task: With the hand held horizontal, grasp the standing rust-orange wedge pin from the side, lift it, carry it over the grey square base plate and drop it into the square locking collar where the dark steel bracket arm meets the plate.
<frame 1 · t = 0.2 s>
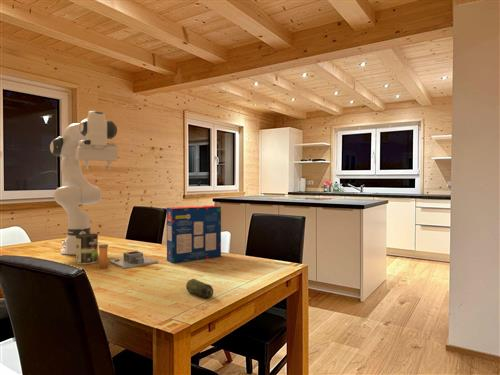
hand: (98, 169, 179), 48 cm above the table, tool pointing down, fingers open, 8 cm apart
grey square base plate: (133, 262, 177), on the table
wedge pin: (103, 267, 167), on the table
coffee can: (87, 262, 178), on the table
blue board game box: (194, 259, 186), on the table
vegetable: (199, 295, 127), on the table
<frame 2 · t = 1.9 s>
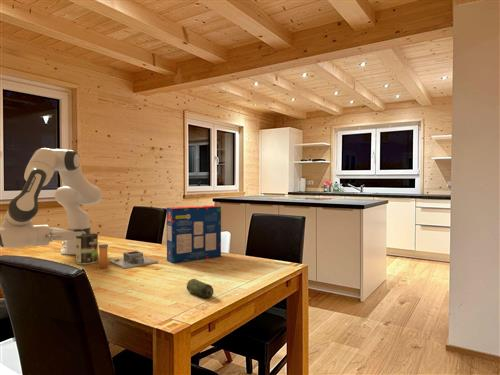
hand: (77, 232, 158), 18 cm above the table, tool horizontal, fingers open, 8 cm apart
nothing on the table moved.
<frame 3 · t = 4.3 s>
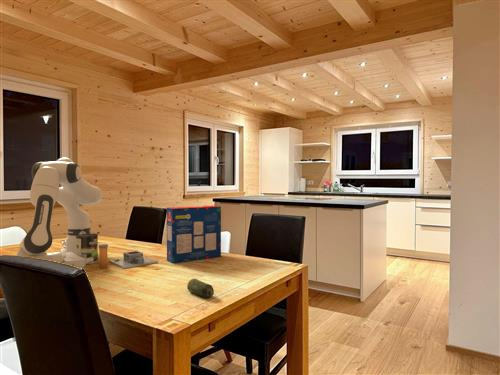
hand: (89, 257, 163), 6 cm above the table, tool horizontal, fingers open, 8 cm apart
nothing on the table moved.
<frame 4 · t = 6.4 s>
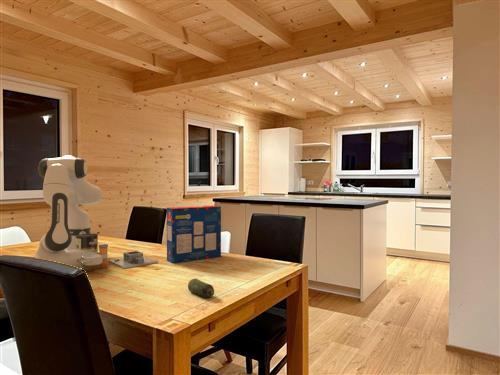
hand: (105, 254, 167), 6 cm above the table, tool horizontal, fingers closed on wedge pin, 4 cm apart
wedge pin: (103, 267, 167), on the table, touching gripper
everything else where it was.
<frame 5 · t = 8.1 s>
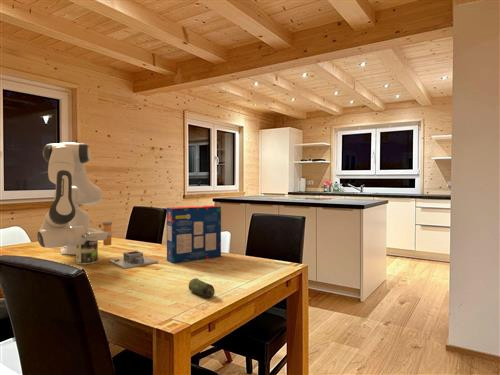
hand: (109, 232, 169), 17 cm above the table, tool horizontal, fingers closed on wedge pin, 4 cm apart
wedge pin: (107, 244, 168), point 11 cm above the table, touching gripper
everything else where it was.
when the fingers open (13 cm above the table, at t = 10.1 s): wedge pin drops 5 cm, resting on grey square base plate.
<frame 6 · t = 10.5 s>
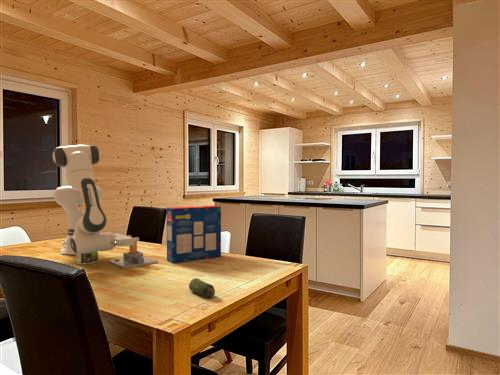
hand: (134, 238, 177), 12 cm above the table, tool horizontal, fingers open, 7 cm apart
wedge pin: (133, 260, 177), point 1 cm above the table, touching grey square base plate
everything else where it was.
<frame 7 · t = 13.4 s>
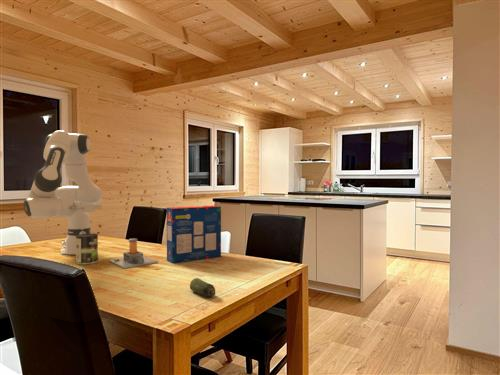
hand: (97, 205, 167), 30 cm above the table, tool horizontal, fingers open, 8 cm apart
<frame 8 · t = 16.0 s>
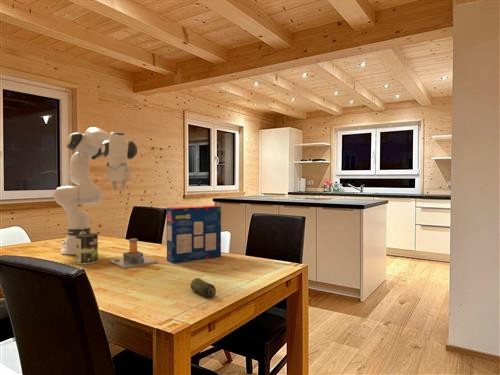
hand: (118, 190, 180), 37 cm above the table, tool pointing down, fingers open, 8 cm apart
at the end: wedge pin 0.0 cm off-centre on the grey square base plate, point 1.0 cm above the grey square base plate's base; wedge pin tilted 1°; the gripper is holding nothing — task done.
